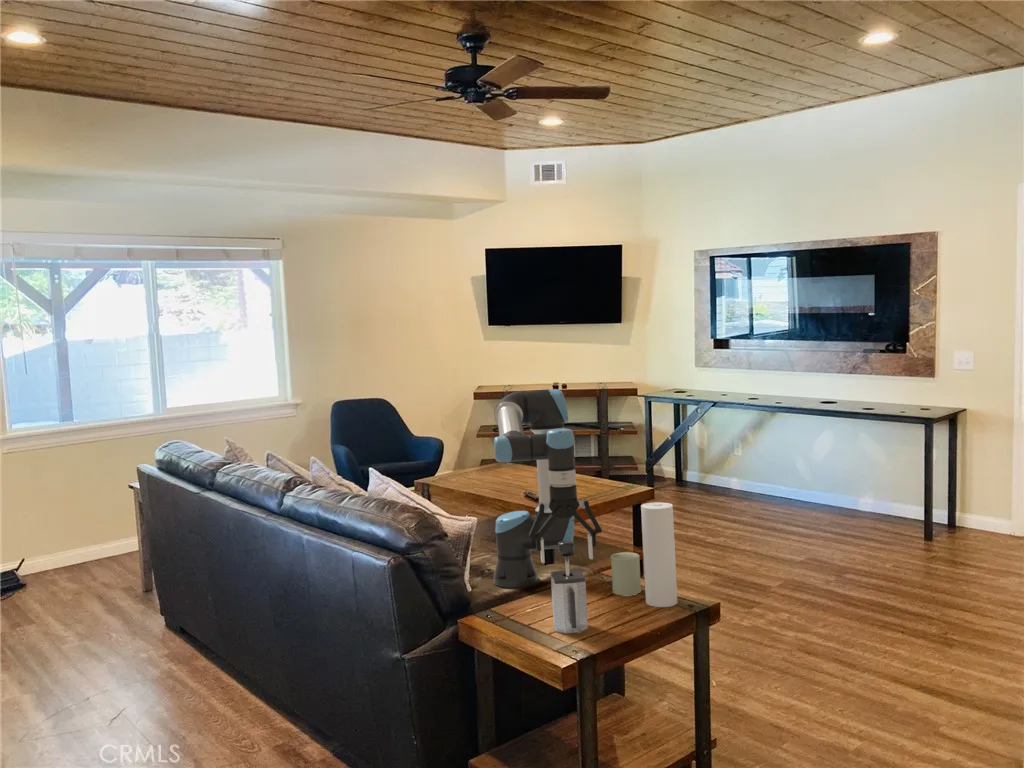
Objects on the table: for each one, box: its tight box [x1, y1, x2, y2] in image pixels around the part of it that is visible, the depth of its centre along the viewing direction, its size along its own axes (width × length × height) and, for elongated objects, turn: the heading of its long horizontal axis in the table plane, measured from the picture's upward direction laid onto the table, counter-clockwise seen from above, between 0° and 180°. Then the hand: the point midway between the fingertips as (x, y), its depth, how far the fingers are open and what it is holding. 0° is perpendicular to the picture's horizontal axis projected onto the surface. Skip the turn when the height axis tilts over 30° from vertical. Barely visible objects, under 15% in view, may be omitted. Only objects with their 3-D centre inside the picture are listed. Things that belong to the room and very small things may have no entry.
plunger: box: [557, 540, 575, 576], centre depth 214 cm, size 7×7×20 cm
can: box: [610, 551, 642, 595], centre depth 243 cm, size 9×9×12 cm
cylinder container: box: [640, 501, 678, 608], centre depth 231 cm, size 9×9×30 cm
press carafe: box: [550, 569, 589, 635], centre depth 213 cm, size 12×10×15 cm
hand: (566, 560), depth 214 cm, fingers open, 13 cm apart
